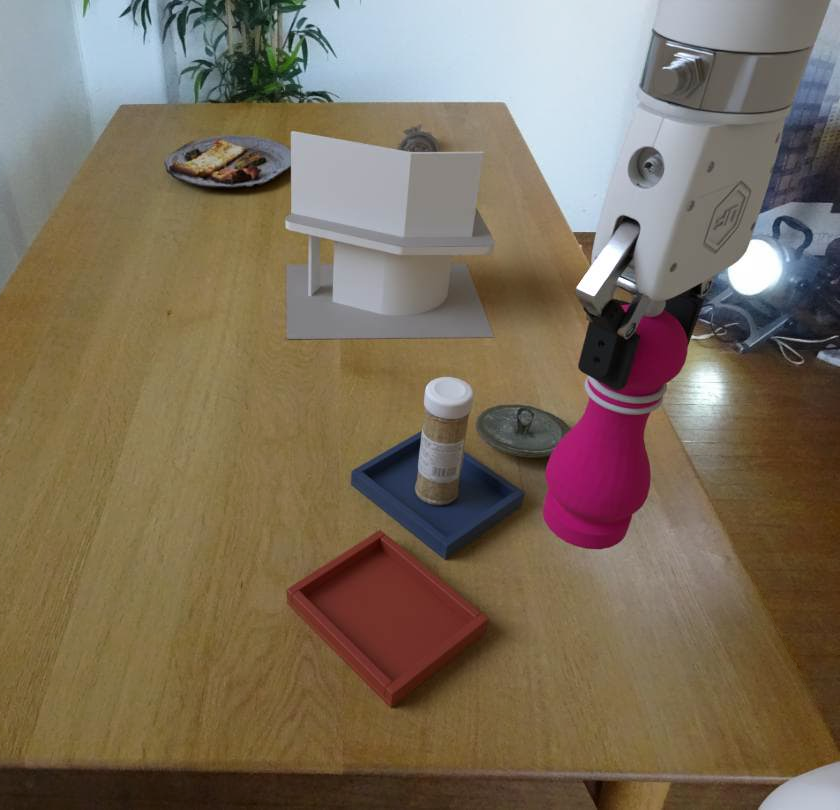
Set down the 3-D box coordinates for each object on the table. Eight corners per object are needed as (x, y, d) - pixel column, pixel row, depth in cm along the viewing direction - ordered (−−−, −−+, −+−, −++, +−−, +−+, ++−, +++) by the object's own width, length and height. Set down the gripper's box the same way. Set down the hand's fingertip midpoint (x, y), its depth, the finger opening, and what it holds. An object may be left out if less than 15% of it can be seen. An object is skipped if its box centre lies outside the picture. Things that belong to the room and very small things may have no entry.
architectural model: (466, 263, 125) (487, 110, 111) (494, 337, 109) (523, 168, 94) (286, 264, 125) (284, 111, 111) (286, 339, 108) (284, 170, 94)
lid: (503, 487, 88) (519, 461, 84) (455, 420, 93) (468, 391, 89) (577, 462, 91) (596, 435, 88) (528, 398, 97) (543, 370, 93)
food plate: (243, 206, 142) (242, 187, 140) (141, 180, 152) (139, 161, 150) (315, 161, 159) (315, 143, 157) (219, 140, 169) (218, 123, 167)
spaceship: (394, 166, 136) (440, 149, 134) (389, 120, 166) (426, 105, 164) (408, 209, 140) (453, 193, 138) (401, 156, 169) (438, 142, 167)
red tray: (485, 632, 71) (489, 618, 70) (390, 708, 65) (392, 694, 64) (379, 543, 79) (380, 529, 78) (286, 603, 74) (286, 588, 72)
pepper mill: (533, 544, 60) (593, 312, 48) (537, 480, 65) (591, 257, 53) (636, 564, 58) (725, 329, 46) (631, 496, 64) (709, 270, 52)
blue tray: (522, 506, 83) (525, 492, 82) (445, 560, 78) (447, 546, 76) (426, 440, 92) (428, 426, 90) (350, 484, 86) (351, 470, 85)
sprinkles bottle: (460, 481, 85) (476, 378, 77) (455, 511, 82) (472, 407, 74) (417, 474, 86) (428, 371, 78) (410, 503, 83) (422, 399, 75)
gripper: (693, 127, 35) (600, 442, 46) (870, 60, 43) (756, 340, 55) (554, 87, 40) (499, 381, 51) (738, 33, 48) (657, 296, 59)
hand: (633, 358), depth 53 cm, fingers closed on pepper mill, 6 cm apart
